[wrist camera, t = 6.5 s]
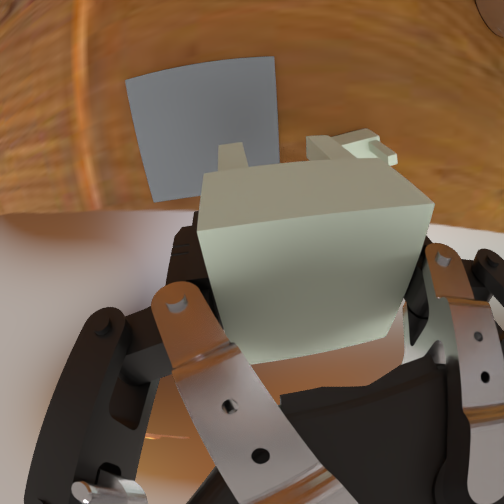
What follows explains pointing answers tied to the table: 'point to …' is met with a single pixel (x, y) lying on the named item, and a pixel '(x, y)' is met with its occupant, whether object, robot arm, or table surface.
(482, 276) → the robot arm
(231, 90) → the mat
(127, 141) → the table surface
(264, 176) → the cube with twin tabs
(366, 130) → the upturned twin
